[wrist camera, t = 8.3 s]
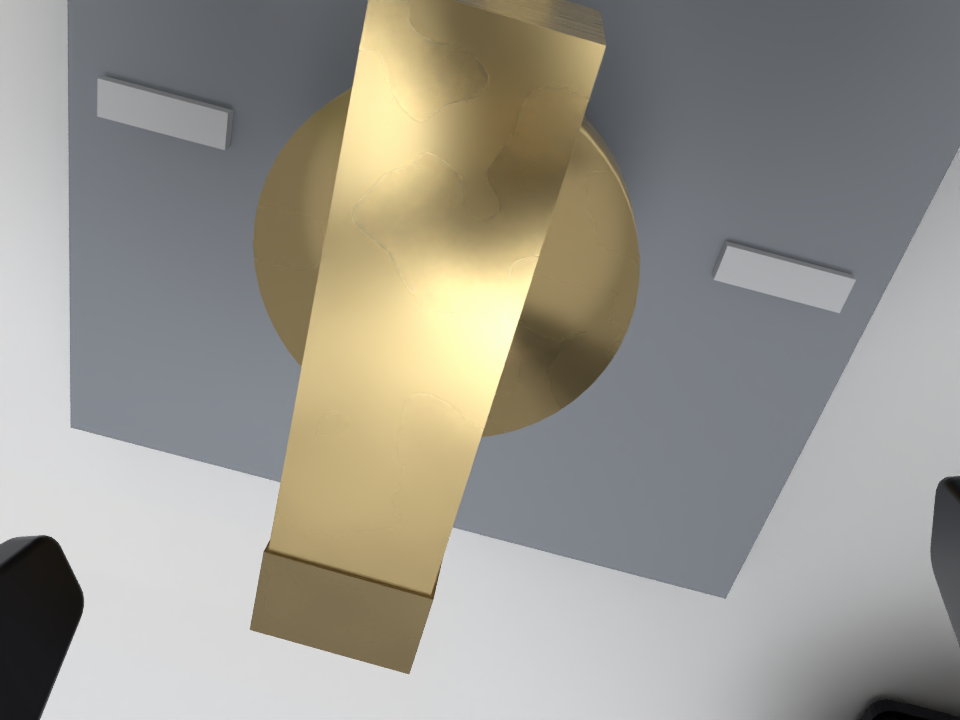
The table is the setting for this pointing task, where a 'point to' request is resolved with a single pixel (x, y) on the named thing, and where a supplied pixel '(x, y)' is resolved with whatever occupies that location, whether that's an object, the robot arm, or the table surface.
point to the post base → (659, 225)
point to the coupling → (430, 297)
